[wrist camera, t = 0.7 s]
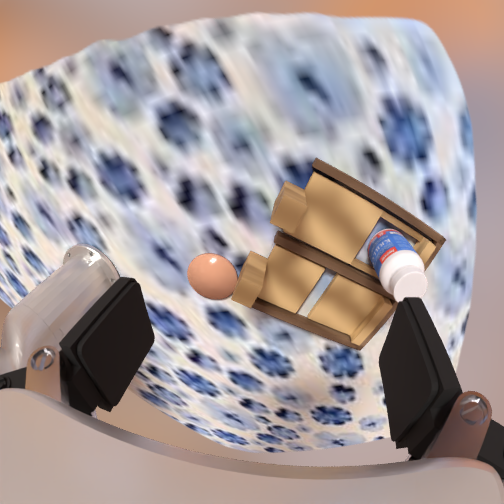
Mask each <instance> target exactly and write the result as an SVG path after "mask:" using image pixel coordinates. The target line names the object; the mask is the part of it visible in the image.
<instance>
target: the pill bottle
mask: <svg viewBox="0 0 504 504" xmlns="http://www.w3.org/2000/svg"><path fill="white" fill-rule="evenodd" d="M368 255H369V258H370V260H371V262H372V264H373V267H374V269H375V271H376V273H377V275H378V278H379V280H380V282H381V284H382V286H383V288H384V289H385V290H386V291H387V292H388V293H390V294H392V295H393V296H394V298H395V300H396V301H397V302H399V301H403V299H404V298H405V297H420V298H422V297H423V296H424V294H425V293H426V290H427V287H428V281H427V278H426V276H425V275H424V270H425V269H424V264H423V261H422V259H421V258H420V256H419V255H418V254H417V252H416V251H415V250H414V249H413V247H412V246H411V245H410V243H409V242H408V241H407V240H406V239H405V237H404V236H403V235H402V234H401V233H400V232H399V231H397V230H394V229H384V230H381V231H379V232H378V233H376V234H375V235H374V236H373V237H372V239H371V240H370V242H369V246H368Z"/></svg>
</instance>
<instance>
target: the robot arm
mask: <svg viewBox="0 0 504 504" xmlns="http://www.w3.org/2000/svg"><path fill="white" fill-rule="evenodd" d="M154 339H155V337H154V332H153V329H152V326H151V323H150V319H149V316H148V312H147V309H146V305H145V302H144V298H143V295H142V291H141V287H140V284H139V283H137V281H136V280H135V279H134V278H127V277H120V278H119V275H118V273H117V271H116V269H115V267H114V266H113V264H112V263H111V261H110V260H109V259H108V258H107V257H106V256H105V255H104V254H103V253H102V252H101V251H100V250H98V249H97V248H95V247H93V246H91V245H88V244H83V243H82V244H76V245H74V246H72V247H71V248H70V249H68V251H67V252H66V254H65V256H64V260H63V265H62V266H61V267H60V268H59V269H57V270H56V271H55V272H54V273H53V274H51V275H50V276H49V277H48V278H46V279H45V280H44V281H43V282H42V283H40V284H39V285H38V286H37V287H36V288H35V289H33V290H32V291H31V292H30V293H29V294H28V295H27V296H25V297H24V298H23V299H22V300H21V301H20V302H19V303H18V304H17V305H15V306H14V307H13V308H12V309H11V310H10V312H9V313H8V314H7V316H6V319H5V321H4V324H3V330H2V340H1V341H2V342H1V347H0V504H504V427H503V426H502V425H500V424H499V423H497V422H495V421H494V420H492V419H491V416H492V409H491V405H490V403H489V401H488V400H487V399H486V397H484V396H483V395H482V394H480V393H478V392H475V391H468V392H464V393H463V392H462V389H461V387H460V384H459V381H458V378H457V376H456V373H455V371H454V368H453V366H452V363H451V361H450V358H449V356H448V354H447V351H446V349H445V347H444V344H443V342H442V340H441V338H440V336H439V334H438V332H437V330H436V328H435V326H434V323H433V321H432V319H431V317H430V315H429V313H428V311H427V309H426V307H425V305H424V303H423V301H422V299H421V298H420V297H405V298H404V299H403V301H399V302H398V305H397V308H396V311H395V314H394V317H393V320H392V323H391V326H390V329H389V332H388V335H387V337H386V340H385V343H384V346H383V348H382V351H381V353H380V356H379V367H380V372H381V377H382V383H383V388H384V394H385V400H386V406H387V413H388V419H389V427H390V435H391V439H392V441H396V449H398V448H406V447H408V453H409V456H408V458H407V459H406V460H405V462H396V463H388V464H377V465H363V466H342V467H309V466H288V465H276V464H266V463H256V462H249V461H241V460H236V459H229V458H224V457H219V456H213V455H209V454H204V453H199V452H195V451H190V450H187V449H183V448H179V447H175V446H172V445H168V444H165V443H161V442H158V441H155V440H152V439H149V438H145V437H142V436H139V435H137V434H134V433H131V432H128V431H126V430H123V429H120V428H118V427H115V426H112V425H110V424H108V423H105V422H103V421H100V420H98V419H97V416H96V411H95V409H96V407H97V405H98V407H99V408H101V409H104V410H106V411H109V412H111V410H112V408H113V406H116V405H117V404H118V403H119V401H120V400H121V398H122V396H123V394H124V392H125V391H126V389H127V387H128V386H129V384H130V382H131V380H132V379H133V377H134V375H135V374H136V372H137V370H138V369H139V367H140V365H141V363H142V362H143V360H144V358H145V357H146V355H147V353H148V352H149V350H150V348H151V347H152V345H153V343H154Z"/></svg>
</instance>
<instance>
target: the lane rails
mask: <svg viewBox="0 0 504 504" xmlns="http://www.w3.org/2000/svg"><path fill="white" fill-rule="evenodd" d="M312 166H313V167H314V168H316V169H318V170H320V171H322V172H324V173H326V174H327V175H329V176H331V177H333V178H335V179H337V180H339V181H340V182H342V183H344V184H346V185H348V186H349V187H351V188H353V189H355V190H356V191H358V192H360V193H362V194H363V195H365V196H367V197H368V198H370V199H372V200H373V201H375V202H377V203H378V204H380V205H382V206H383V207H385V208H387V209H388V210H390V211H391V212H393V213H395V214H396V215H398V216H399V217H401V218H402V219H404V220H405V221H407V222H408V223H410V224H412V225H413V226H415V227H416V228H417V229H419V230H420V231H422V232H423V233H425V234H426V235H428V236H429V237H431V238H432V240H431V242H432V243H433V244H434V245H435V246H436V248H435V250H434V251H433V253H432V254H431V256H430V257H429V259H428V260H427V262H426V263H425V265H424V269H425V270H426V269H427V268H428V266H429V265H430V263H431V262H432V260H433V259H434V257H435V256H436V254H437V253H438V251H439V250H440V248H441V247H442V245H443V244H444V242H445V241H446V239H445V238H444V237H443V236H442V235H440V234H439V233H438V232H436V231H435V230H434V229H432V228H431V227H429V226H428V225H427V224H425V223H424V222H422V221H421V220H419V219H418V218H417V217H415V216H414V215H412V214H411V213H409V212H408V211H406V210H405V209H403V208H402V207H400V206H399V205H397V204H396V203H394V202H392V201H391V200H389V199H388V198H386V197H385V196H383V195H381V194H380V193H378V192H376V191H375V190H373V189H372V188H370V187H368V186H366V185H365V184H363V183H361V182H360V181H358V180H356V179H355V178H353V177H351V176H349V175H347V174H346V173H344V172H342V171H340V170H338V169H337V168H335V167H333V166H331V165H329V164H327V163H325V162H324V161H322V160H320V159H318V158H315V160H314V162H313V164H312ZM274 243H276V244H279V245H281V246H283V247H285V248H287V249H289V250H291V251H293V252H295V253H298V254H300V255H302V256H304V257H306V258H308V259H310V260H312V261H314V262H316V263H319V264H321V265H323V266H325V267H327V268H329V269H331V270H333V271H335V272H337V273H336V275H335V276H334V278H333V279H332V281H331V282H330V284H329V285H328V287H327V288H326V290H325V291H324V293H323V294H322V295H321V297H320V298H319V300H318V301H317V302H316V304H315V305H314V307H313V308H312V309H311V311H310V312H309V314H308V318H307V317H304V316H302V315H299V314H297V313H293V312H291V311H288V310H286V309H284V308H281V307H279V306H277V305H274V304H272V303H270V302H267V301H265V300H263V299H260V298H258V297H257V298H256V300H255V302H254V303H253V305H252V308H255V309H257V310H259V311H262V312H264V313H266V314H269V315H271V316H273V317H276V318H278V319H281V320H283V321H285V322H288V323H290V324H293V325H295V326H298V327H300V328H303V329H305V330H308V331H310V332H313V333H315V334H318V335H320V336H323V337H325V338H328V339H330V340H333V341H336V342H338V343H341V344H344V345H346V346H349V347H352V348H354V349H357V350H361V349H362V348H363V347H364V346H365V345H366V344H367V343H368V342H369V341H370V339H371V338H372V337H373V336H374V335H375V334H376V333H377V332H378V330H379V329H380V328H381V327H382V326H383V325H384V323H385V322H386V321H387V320H388V319H389V317H390V316H391V315H392V314H393V313H394V311H395V310H396V308H397V305H398V302H397V301H396V300H395V298H394V296H393V295H392V294H390V293H388V292H387V291H386V290H385V289H384V288H383V286H382V284H381V282H380V281H379V280H377V279H375V278H373V277H371V276H369V275H367V274H365V273H363V272H361V271H359V270H357V269H355V268H353V267H351V266H349V265H347V264H345V263H343V262H341V261H339V260H337V259H335V258H333V257H331V256H329V255H327V254H325V253H323V252H321V251H319V250H317V249H315V248H313V247H311V246H309V245H307V244H305V243H303V242H301V241H299V240H297V239H294V238H292V237H290V236H288V235H286V234H284V233H282V232H280V231H277V233H276V235H275V237H274ZM425 270H424V272H425ZM389 298H390V299H389Z"/></svg>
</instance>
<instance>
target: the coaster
mask: <svg viewBox="0 0 504 504" xmlns="http://www.w3.org/2000/svg"><path fill="white" fill-rule="evenodd" d="M187 275H188V280H189V283H190V285H191V286H192V287H193V289H194V290H195V291H196V292H197V293H199V294H200V295H202V296H204V297H206V298H210V299H222V298H225V297H228V296H229V295H230V294H232V293H233V291H234V289H235V286H236V284H237V281H238V276H237V272H236V269H235V267H234V266H233V265H232V263H231V262H230V261H229V260H227V259H226V258H224V257H223V256H220V255H218V254H213V253H205V254H201V255H199V256H197V257H196V258H194V259H193V261H192V262H191V263H190V265H189V267H188V272H187Z"/></svg>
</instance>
